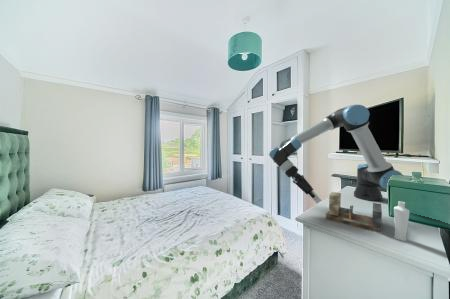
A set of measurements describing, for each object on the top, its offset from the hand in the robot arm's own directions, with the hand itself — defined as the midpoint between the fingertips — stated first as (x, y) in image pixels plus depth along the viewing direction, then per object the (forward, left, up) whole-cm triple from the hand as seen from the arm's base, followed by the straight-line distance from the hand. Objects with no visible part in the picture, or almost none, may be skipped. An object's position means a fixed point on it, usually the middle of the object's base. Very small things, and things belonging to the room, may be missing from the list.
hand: (319, 201), depth 95 cm
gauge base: (-11, +10, -6) cm, 16 cm away
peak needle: (-10, +10, -4) cm, 15 cm away
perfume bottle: (-19, +25, -6) cm, 32 cm away
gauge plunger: (-7, +6, -4) cm, 10 cm away
